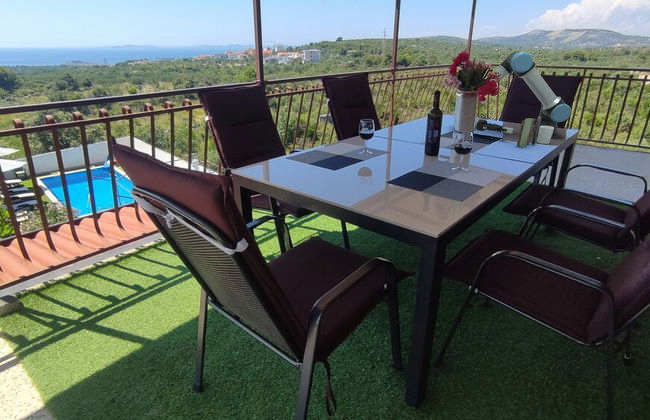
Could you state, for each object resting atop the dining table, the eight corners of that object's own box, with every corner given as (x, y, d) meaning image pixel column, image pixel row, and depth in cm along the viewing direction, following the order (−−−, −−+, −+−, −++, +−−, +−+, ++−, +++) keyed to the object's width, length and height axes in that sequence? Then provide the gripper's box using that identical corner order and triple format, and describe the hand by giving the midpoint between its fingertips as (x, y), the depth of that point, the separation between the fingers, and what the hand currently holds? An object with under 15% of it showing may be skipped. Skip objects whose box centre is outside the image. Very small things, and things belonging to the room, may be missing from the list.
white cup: (548, 145, 229) (553, 128, 225) (534, 143, 233) (538, 127, 229) (550, 142, 235) (555, 126, 231) (537, 140, 239) (541, 125, 235)
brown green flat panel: (528, 143, 231) (533, 118, 225) (529, 143, 230) (535, 119, 224) (516, 145, 225) (522, 120, 219) (518, 145, 224) (524, 121, 218)
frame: (532, 143, 231) (539, 116, 224) (535, 144, 230) (542, 116, 223) (518, 147, 223) (525, 118, 216) (522, 148, 222) (528, 119, 215)
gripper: (483, 129, 253) (516, 135, 236) (472, 131, 247) (505, 138, 229) (486, 118, 250) (519, 124, 233) (474, 120, 244) (507, 126, 226)
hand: (512, 131), depth 231 cm, fingers closed
